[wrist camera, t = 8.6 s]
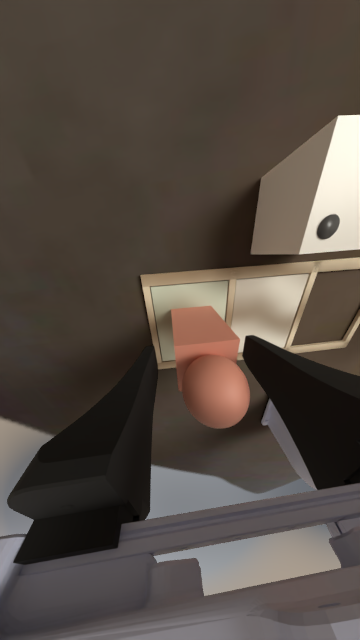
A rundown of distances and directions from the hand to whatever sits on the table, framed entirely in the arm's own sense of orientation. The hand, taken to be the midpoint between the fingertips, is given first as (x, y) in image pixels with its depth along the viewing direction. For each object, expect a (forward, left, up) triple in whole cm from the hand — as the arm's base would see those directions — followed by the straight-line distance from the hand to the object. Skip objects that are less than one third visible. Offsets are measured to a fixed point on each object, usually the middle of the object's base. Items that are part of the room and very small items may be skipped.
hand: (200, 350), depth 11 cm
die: (+9, -8, -4) cm, 13 cm away
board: (0, -8, -4) cm, 9 cm away
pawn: (0, 0, -4) cm, 4 cm away
